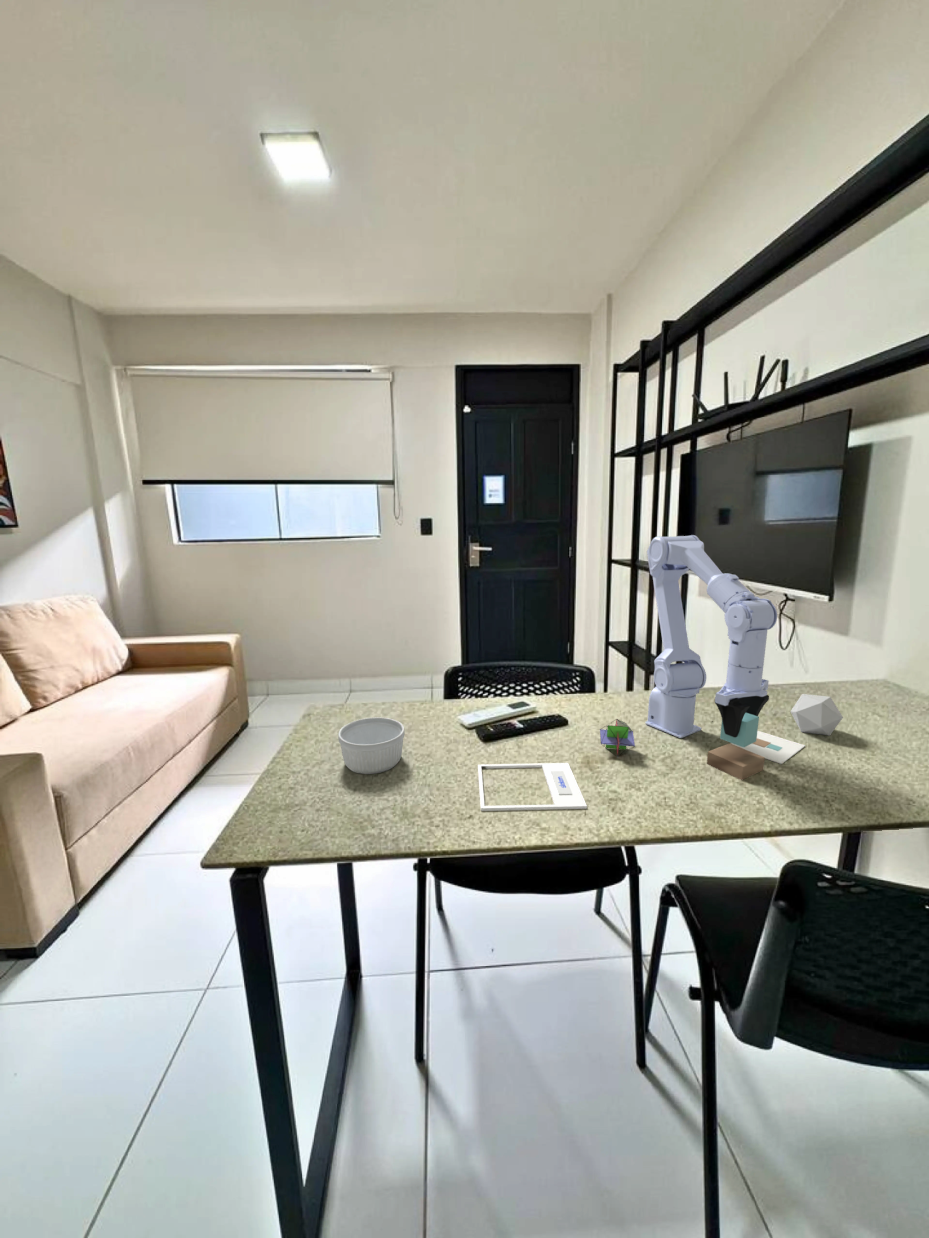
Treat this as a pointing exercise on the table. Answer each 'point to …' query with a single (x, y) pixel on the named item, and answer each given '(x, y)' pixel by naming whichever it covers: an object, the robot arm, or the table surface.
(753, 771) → the brown block
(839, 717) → the die
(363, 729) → the ramekin
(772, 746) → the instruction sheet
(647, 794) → the table surface
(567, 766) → the photo frame
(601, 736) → the geometric puzzle
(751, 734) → the teal brick
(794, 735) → the table surface
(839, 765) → the table surface
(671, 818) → the table surface
